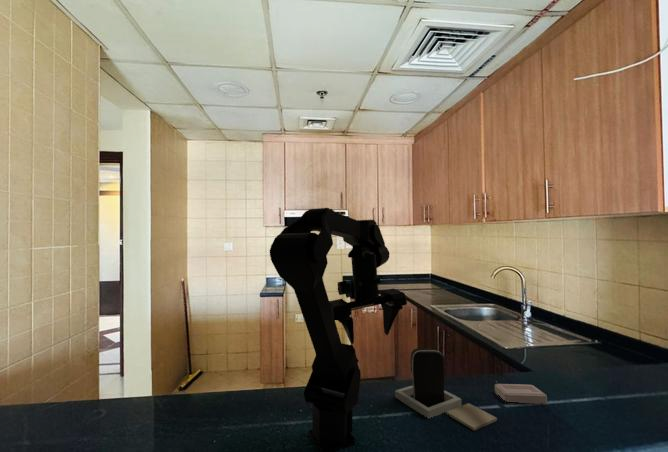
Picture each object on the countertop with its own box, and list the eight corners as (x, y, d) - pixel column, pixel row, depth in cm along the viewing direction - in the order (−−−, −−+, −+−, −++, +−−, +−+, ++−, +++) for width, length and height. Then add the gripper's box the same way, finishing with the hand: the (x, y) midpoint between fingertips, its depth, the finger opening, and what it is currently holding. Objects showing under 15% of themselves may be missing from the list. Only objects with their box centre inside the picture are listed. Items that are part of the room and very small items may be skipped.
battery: (439, 397, 68) (438, 346, 69) (446, 406, 64) (444, 351, 65) (409, 397, 68) (408, 346, 69) (414, 406, 64) (413, 352, 65)
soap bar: (494, 393, 71) (493, 382, 71) (533, 394, 70) (532, 383, 71) (506, 405, 66) (505, 393, 66) (548, 406, 65) (547, 394, 65)
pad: (474, 430, 55) (474, 428, 56) (446, 414, 61) (446, 411, 61) (497, 420, 59) (496, 417, 59) (468, 405, 64) (468, 403, 64)
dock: (428, 418, 59) (428, 411, 60) (395, 397, 68) (395, 390, 68) (461, 406, 64) (461, 399, 64) (426, 387, 73) (426, 381, 73)
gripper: (381, 262, 80) (385, 319, 81) (316, 273, 73) (321, 334, 74) (406, 269, 70) (410, 334, 71) (332, 283, 63) (338, 354, 64)
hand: (369, 338), depth 70 cm, fingers open, 9 cm apart
